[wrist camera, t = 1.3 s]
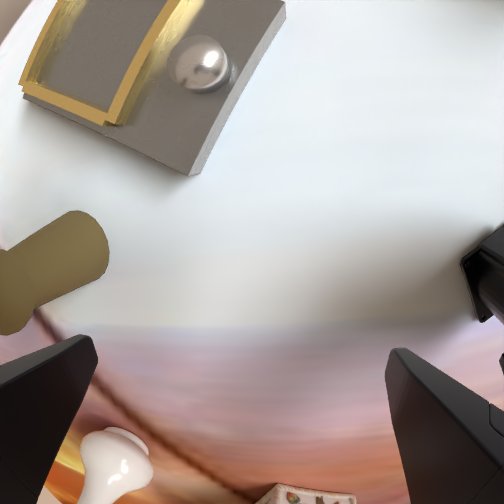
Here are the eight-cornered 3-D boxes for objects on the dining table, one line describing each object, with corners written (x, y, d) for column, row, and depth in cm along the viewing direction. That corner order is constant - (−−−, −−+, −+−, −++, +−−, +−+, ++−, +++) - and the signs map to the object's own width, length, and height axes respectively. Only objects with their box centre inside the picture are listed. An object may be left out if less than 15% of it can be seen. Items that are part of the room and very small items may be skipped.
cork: (57, 274, 24) (-30, 333, 13) (52, 207, 22) (-52, 246, 11) (111, 287, 23) (23, 365, 13) (108, 214, 21) (-3, 264, 11)
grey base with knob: (286, 18, 16) (284, -14, 11) (200, 173, 19) (175, 179, 15) (106, -24, 15) (77, -45, 11) (42, 99, 19) (4, 97, 15)
